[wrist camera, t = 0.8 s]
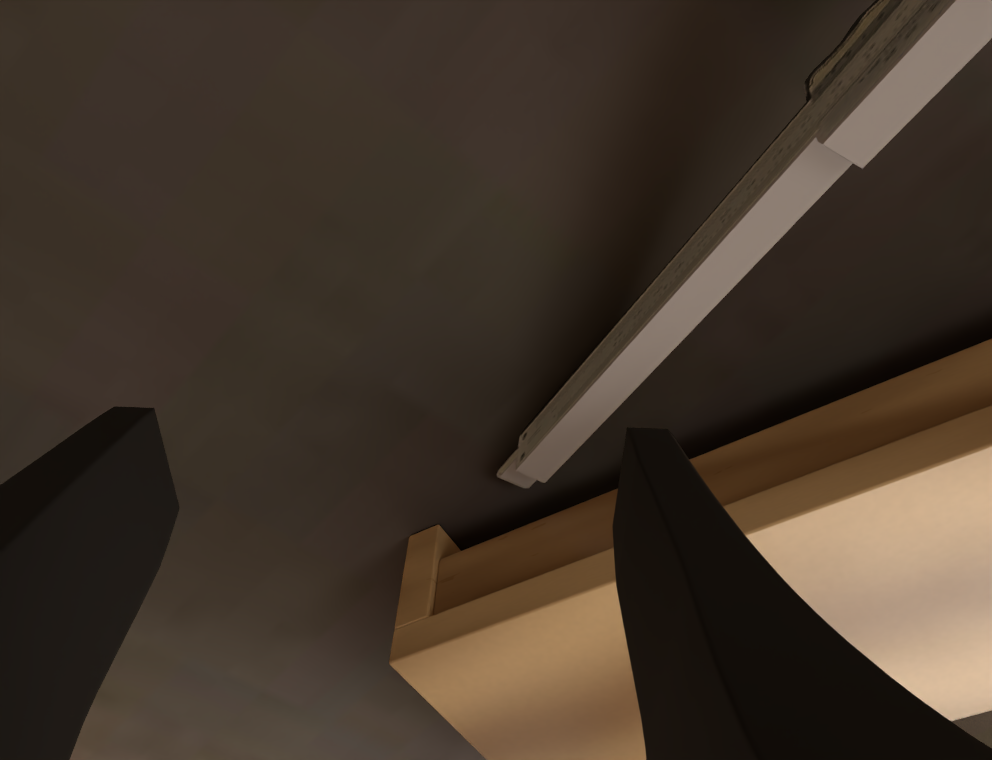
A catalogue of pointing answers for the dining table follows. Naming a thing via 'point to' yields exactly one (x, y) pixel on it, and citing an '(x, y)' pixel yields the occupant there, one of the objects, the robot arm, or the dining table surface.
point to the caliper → (765, 205)
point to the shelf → (775, 534)
